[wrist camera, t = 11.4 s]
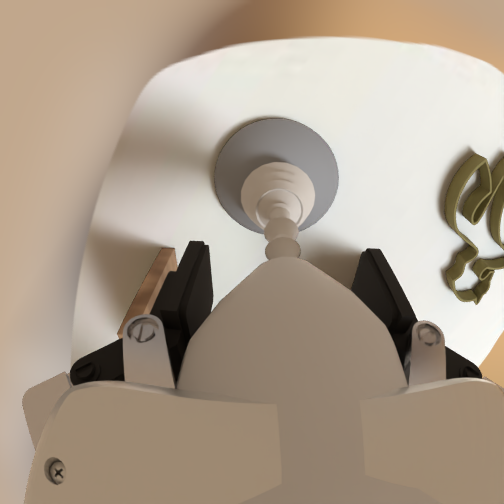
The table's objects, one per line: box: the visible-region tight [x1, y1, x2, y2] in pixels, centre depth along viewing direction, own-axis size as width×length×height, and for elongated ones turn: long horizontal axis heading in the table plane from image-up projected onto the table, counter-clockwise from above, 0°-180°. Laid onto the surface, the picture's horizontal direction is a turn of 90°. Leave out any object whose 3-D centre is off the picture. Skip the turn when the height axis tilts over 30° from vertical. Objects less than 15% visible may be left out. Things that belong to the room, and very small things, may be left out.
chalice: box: [176, 162, 442, 504], centre depth 11 cm, size 7×7×18 cm
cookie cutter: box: [445, 154, 504, 305], centre depth 20 cm, size 18×12×2 cm, turn 38°
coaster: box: [214, 118, 339, 234], centre depth 19 cm, size 9×9×1 cm
